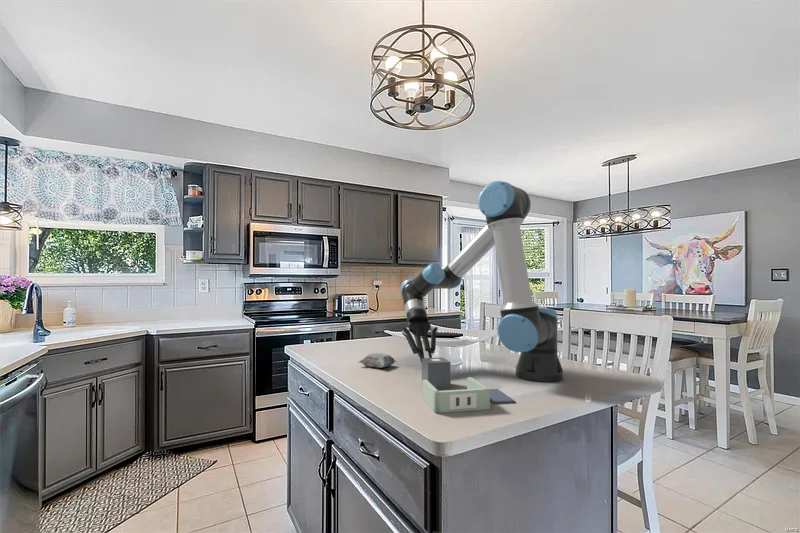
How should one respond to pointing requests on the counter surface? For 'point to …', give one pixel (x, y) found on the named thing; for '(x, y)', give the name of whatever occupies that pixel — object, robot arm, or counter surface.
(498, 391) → the phone
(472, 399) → the outlet bay
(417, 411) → the counter surface
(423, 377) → the block
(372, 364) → the packaged food
